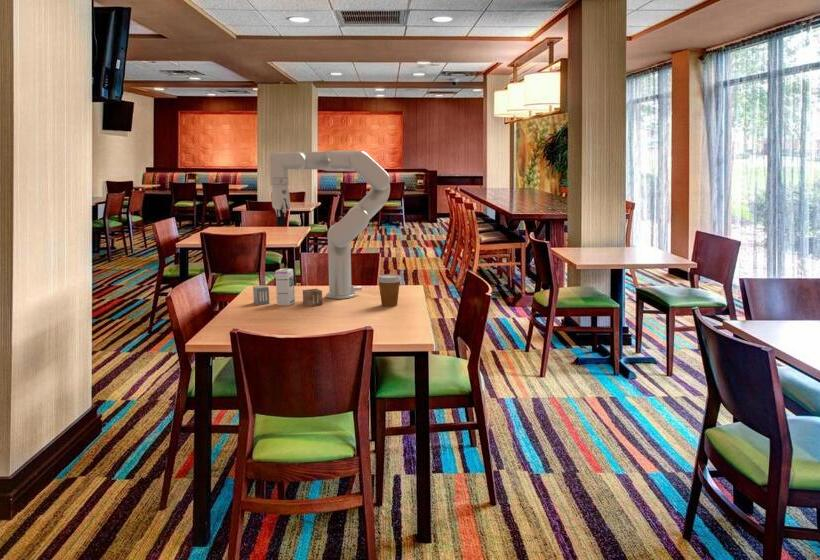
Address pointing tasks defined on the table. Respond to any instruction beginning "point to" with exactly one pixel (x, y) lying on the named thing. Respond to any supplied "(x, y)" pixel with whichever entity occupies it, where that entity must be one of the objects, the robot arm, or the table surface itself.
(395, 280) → the disposable coffee cup
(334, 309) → the table surface
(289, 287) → the syrup box
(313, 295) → the walnut cube
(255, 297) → the slate block
